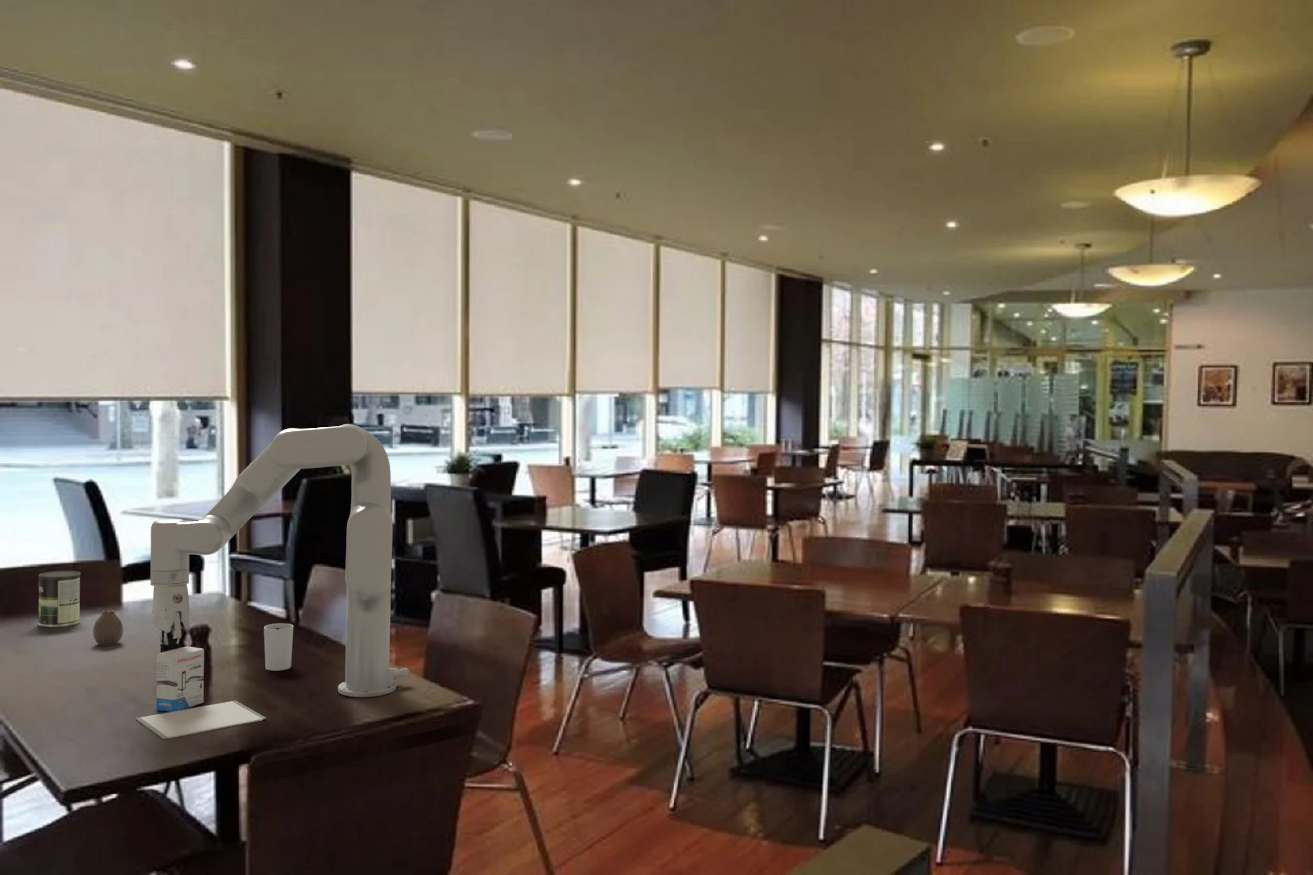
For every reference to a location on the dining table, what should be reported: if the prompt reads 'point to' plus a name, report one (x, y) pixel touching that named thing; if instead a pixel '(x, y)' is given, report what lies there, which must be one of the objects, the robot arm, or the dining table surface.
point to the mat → (200, 719)
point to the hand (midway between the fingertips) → (169, 661)
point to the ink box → (180, 678)
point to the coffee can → (59, 598)
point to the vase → (108, 629)
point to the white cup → (278, 646)
